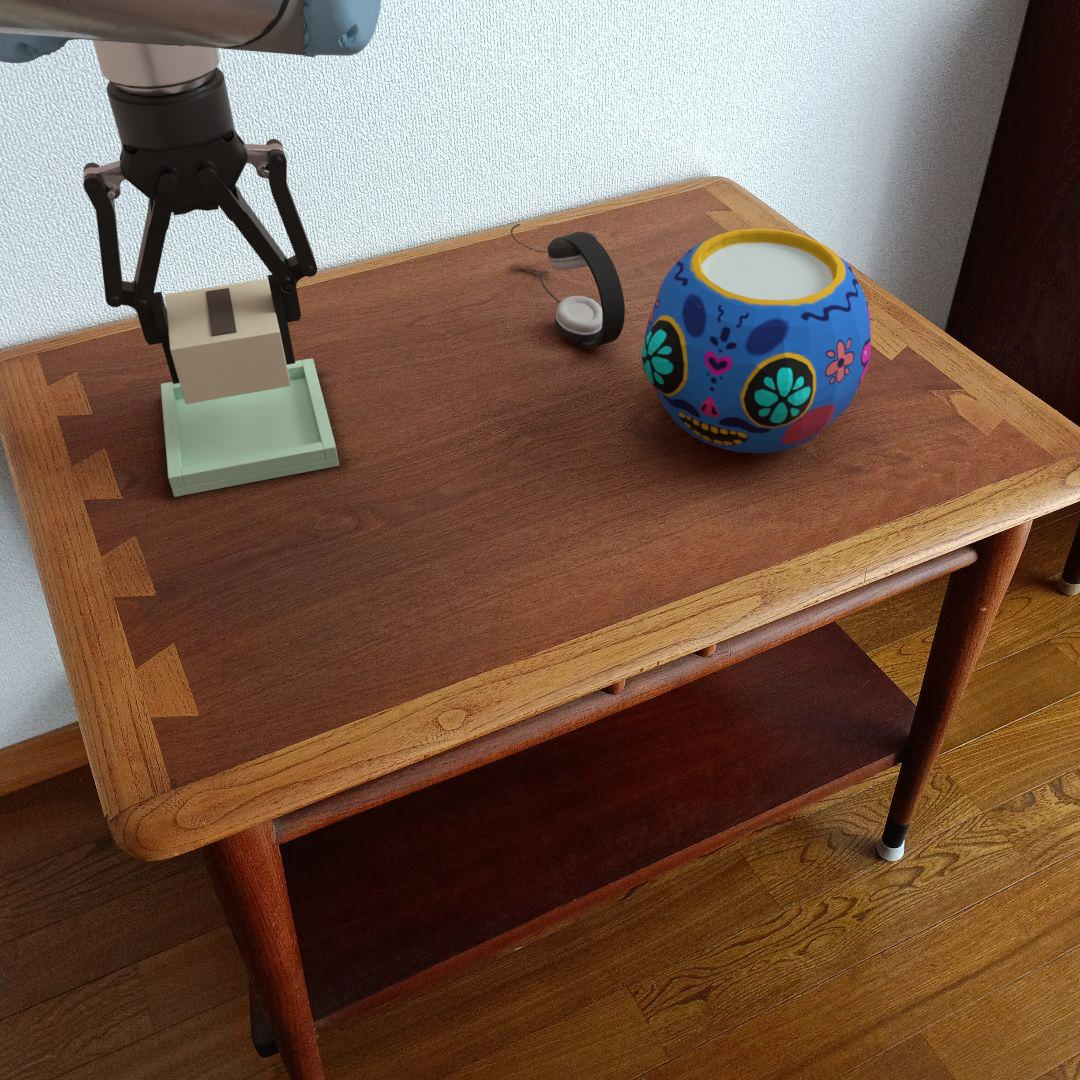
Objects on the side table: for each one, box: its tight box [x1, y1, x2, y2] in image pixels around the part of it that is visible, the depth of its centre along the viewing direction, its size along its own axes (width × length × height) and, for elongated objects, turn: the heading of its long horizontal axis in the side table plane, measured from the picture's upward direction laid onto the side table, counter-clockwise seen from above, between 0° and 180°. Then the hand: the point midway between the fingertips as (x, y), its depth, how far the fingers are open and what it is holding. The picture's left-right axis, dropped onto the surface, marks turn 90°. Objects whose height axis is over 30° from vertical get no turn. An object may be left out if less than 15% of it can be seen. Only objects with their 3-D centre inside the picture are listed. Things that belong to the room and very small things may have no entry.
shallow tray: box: [160, 357, 340, 498], centre depth 92 cm, size 13×13×2 cm
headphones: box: [510, 223, 626, 350], centre depth 102 cm, size 10×4×20 cm
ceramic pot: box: [641, 227, 872, 454], centre depth 88 cm, size 18×18×15 cm
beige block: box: [164, 278, 291, 404], centre depth 86 cm, size 8×8×5 cm
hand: (233, 363), depth 88 cm, fingers closed on beige block, 8 cm apart
